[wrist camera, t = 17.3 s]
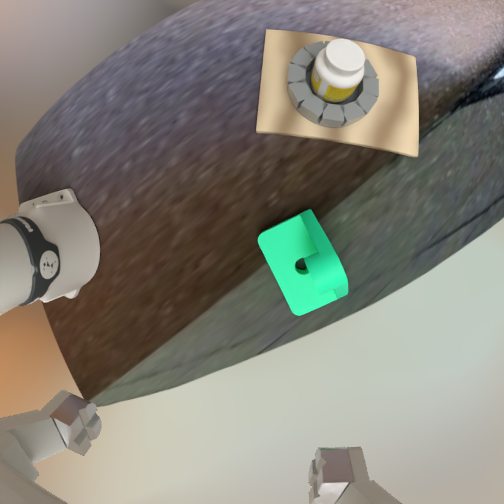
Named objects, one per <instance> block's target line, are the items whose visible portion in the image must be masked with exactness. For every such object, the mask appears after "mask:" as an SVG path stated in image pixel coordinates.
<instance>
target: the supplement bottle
mask: <svg viewBox="0 0 504 504" xmlns="http://www.w3.org/2000/svg"><path fill="white" fill-rule="evenodd" d="M364 63H365V55H364V52H363V50H362V49H361V48H360V47H359V46H358V45H357V44H356V43H354V42H353V41H350V40H347V39H335V40H333V41H331V42H330V43H329V44H328V45H327V47H325V48H323V49H322V50H321V51H320V52H319V53H318V55H317V57H316V59H315V63H314V67H313V71H312V75H311V79H310V88H311V91H312V93H313V94H314V95H315V96H317V97H318V98H320V99H321V100H322V101H324V102H325V103H329V104H336V105H338V104H341V103H343V102H345V101H346V100H347V99H348V98H349V97H350V96H351V94H352V93H353V92H354V90H355V89H356V87H357V86H358V84H359V83H360V81H361V80H362V78H363V76H364V70H365V69H364Z"/></svg>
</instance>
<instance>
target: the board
mask: <svg viewBox="0 0 504 504" xmlns="http://www.w3.org/2000/svg"><path fill="white" fill-rule="evenodd" d="M335 39H344V38H338V37H333V36H326V35H320V34H312V33H304V32H295V31H283V30H267V29H266V37H265V46H264V56H263V66H262V76H261V86H260V96H259V106H258V116H257V126H256V132H257V133H267V134H278V135H288V136H297V137H306V138H314V139H321V140H328V141H335V142H341V143H347V144H353V145H358V146H364V147H369V148H374V149H379V150H384V151H388V152H393V153H397V154H402V155H406V156H410V157H418V140H419V108H418V84H417V71H416V60H415V57H413V56H410V55H407V54H404V53H401V52H398V51H394V50H391V49H387V48H383V47H380V46H376V45H372V44H368V43H363V42H359V41H354V40H350V41H353V42H354V43H356V44H357V45H358V46H359V47H360V48H361V49H362V50H363V52H364V55H365V60H366V59H368V60H369V62H370V63H371V65H372V67H373V68H374V70H375V72H376V73H377V75H378V76H377V77H376V78H378V79H379V97H378V98H377V99H378V100H377V101H376V103H375V104H374V106H373V107H372V108H371V110H370V111H369V113H368V114H367V115H365V116H364V117H363V118H362V119H361V120H359V121H357V122H355V123H354V124H351V125H349V126H346V127H341V128H328V127H323V126H320V125H317V124H315V123H313V122H311V121H309V120H307V119H306V118H305V117H303V116H302V115H301V114H300V113H299V112H298V111H297V109H296V108H295V107H294V105H293V104H292V102H291V99H290V97H289V94H288V90H287V87H288V72H289V64H290V61H291V59H292V58H293V57H294V56H295V55H296V54H297V52H298V51H299V50H300V49H301V48H303V49H304V46H306V45H310V44H313V43H316V42H320V41H323V43H324V44H325V41H333V40H335ZM347 40H349V39H347Z"/></svg>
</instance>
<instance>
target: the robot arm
mask: <svg viewBox="0 0 504 504" xmlns="http://www.w3.org/2000/svg"><path fill="white" fill-rule="evenodd" d="M99 259H100V243H99V237H98V233H97V230H96V227H95V225H94V222H93V221H92V219H91V217H90V216H89V214H88V213H87V212H86V211H85V210H84V209H83V208H82V207H81V206H80V204H79V203H78V201H77V198H76V196H75V194H74V192H73V190H72V189H70V188H68V189H64V190H60V191H57V192H54V193H51V194H47V195H44V196H41V197H38V198H35V199H32V200H29V201H26V202H24V203H21V204H20V207H19V210H18V213H17V214H14V215H11V216H9V217H8V218H7V219H5V220H3V221H1V222H0V315H2V314H3V313H5V312H7V311H9V310H10V309H12V308H14V307H16V306H24V305H27V304H31V303H33V302H35V301H36V300H37V299H39V300H42V301H43V302H49V301H51V300H54V299H56V298H59V297H61V296H66V297H68V298H70V299H72V298H74V297H76V296H77V295H78V293H79V291H80V288H81V287H82V286H83V285H84V284H86V283H87V282H89V281H90V280H91V279H92V277H93V276H94V274H95V272H96V270H97V268H98V264H99ZM96 411H97V408H96V405H95V404H94V403H91V402H89V401H87V400H85V399H82V398H80V397H78V396H76V395H74V394H72V393H70V392H67V391H65V390H62V391H60V392H59V393H58V394H57V395H56V396H55V397H54V398H53V399H52V400H51V401H50V402H49V403H48V404H47V405H46V406H45V407H44V408H42V409H41V410H40V411H39V410H34V411H30V412H26V413H21V414H17V415H13V416H8V417H3V418H0V504H68V503H67V502H65V501H63V500H61V499H60V498H58V497H56V496H55V495H53V494H52V493H50V492H48V491H47V490H45V489H44V488H42V487H41V486H39V485H38V484H36V483H35V482H34V481H35V480H36V478H37V477H38V476H39V473H38V471H37V469H36V468H35V467H34V465H33V464H34V463H36V462H39V461H41V460H43V459H45V458H48V457H50V456H52V455H55V454H57V453H59V452H61V451H63V450H66V449H67V448H68V449H70V450H72V451H74V452H76V453H78V454H80V455H83V456H84V455H85V453H86V452H87V451H88V449H89V448H90V447H91V440H93V439H96V438H97V437H98V435H99V434H100V431H101V420H100V418H99V416H98V415H97V414H96ZM309 484H310V485H311V486H312V488H311V490H310V492H309V504H402V503H400V502H399V501H398V500H397V499H395V498H394V497H393V496H392V495H391V494H389V493H388V492H387V491H386V490H384V489H383V488H382V487H381V486H379V485H378V484H377V483H376V482H375V481H370V480H369V476H368V472H367V467H366V463H365V459H364V455H363V451H362V448H361V447H335V448H318V449H317V450H316V453H315V459H314V460H313V461H312V463H311V465H310V469H309Z"/></svg>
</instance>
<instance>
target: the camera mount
mask: <svg viewBox="0 0 504 504" xmlns="http://www.w3.org/2000/svg"><path fill="white" fill-rule="evenodd" d="M258 244H259V246H260V248H261V250H262V252H263V254H264V256H265V258H266V260H267V262H268V264H269V266H270V268H271V270H272V272H273V274H274V276H275V278H276V280H277V282H278V284H279V286H280V288H281V290H282V292H283V294H284V296H285V298H286V300H287V302H288V304H289V306H290V308H291V310H292V312H293V313H294V314H295V315H303V314H306V313H308V312H310V311H312V310H315V309H317V308H319V307H321V306H324V305H326V304H328V303H330V302H332V301H334V300H337V299H339V298H341V297H343V296H345V295H347V294H348V280H347V277H346V274H345V272H344V269H343V267H342V264H341V262H340V260H339V258H338V256H337V254H336V252H335V250H334V249H333V247H332V245H331V243H330V241H329V240H328V238H327V236H326V234H325V233H324V231H323V229H322V227H321V226H320V224H319V222H318V221H317V219H316V217H315V215H314V214H313V212H312V210H311V209H309V210H307V211H304V212H302V213H300V214H298V215H296V216H294V217H292V218H290V219H288V220H286V221H283V222H281V223H279V224H277V225H275V226H273V227H271V228H269V229H267V230H265V231H263V232H261V234H260V235H259V237H258ZM300 258H303V259H304V261H305V264H306V266H307V268H306V269H304V270H300V269H298V268H296V267H295V263H296V261H297V260H299V259H300Z"/></svg>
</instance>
